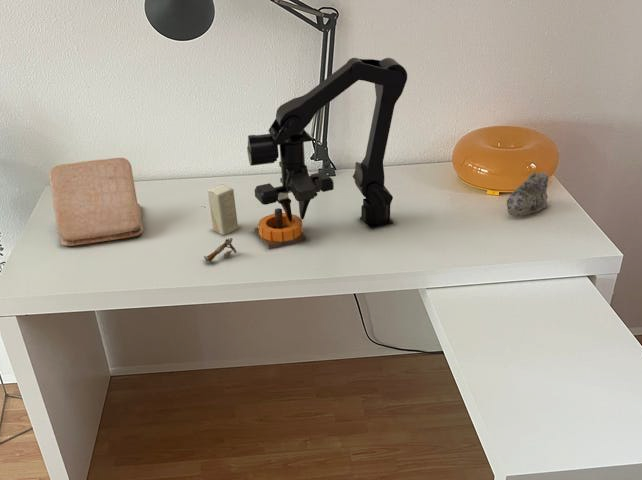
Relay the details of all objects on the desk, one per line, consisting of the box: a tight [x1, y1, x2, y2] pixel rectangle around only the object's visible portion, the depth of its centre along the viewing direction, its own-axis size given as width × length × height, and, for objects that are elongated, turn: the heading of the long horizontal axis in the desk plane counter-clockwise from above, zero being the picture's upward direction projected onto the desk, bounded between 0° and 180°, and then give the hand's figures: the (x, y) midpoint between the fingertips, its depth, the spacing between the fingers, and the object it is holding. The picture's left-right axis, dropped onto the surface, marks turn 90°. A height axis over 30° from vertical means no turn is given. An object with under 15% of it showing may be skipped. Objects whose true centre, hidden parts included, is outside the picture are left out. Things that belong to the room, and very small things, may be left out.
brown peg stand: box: [253, 207, 307, 250], centre depth 187 cm, size 10×10×7 cm
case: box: [48, 157, 144, 247], centre depth 193 cm, size 20×21×16 cm
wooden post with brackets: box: [203, 237, 238, 265], centre depth 180 cm, size 2×8×4 cm, turn 124°
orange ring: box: [257, 212, 304, 242], centre depth 188 cm, size 11×11×3 cm
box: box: [207, 184, 239, 236], centre depth 190 cm, size 5×4×11 cm
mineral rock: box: [506, 171, 549, 216], centre depth 194 cm, size 13×11×10 cm
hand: (296, 220), depth 189 cm, fingers open, 3 cm apart
